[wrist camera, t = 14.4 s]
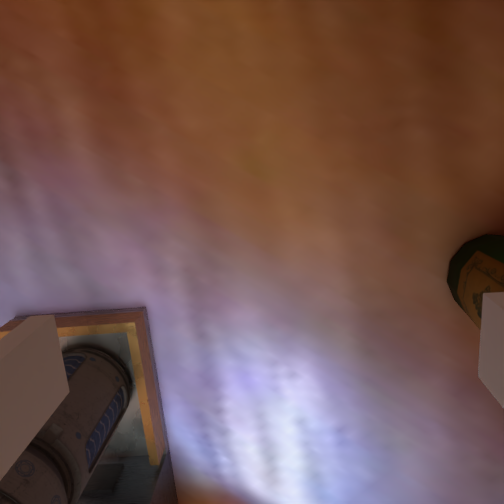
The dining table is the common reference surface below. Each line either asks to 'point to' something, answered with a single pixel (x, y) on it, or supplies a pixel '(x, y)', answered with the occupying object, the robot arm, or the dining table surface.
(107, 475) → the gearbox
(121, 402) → the beverage bottle
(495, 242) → the bottle
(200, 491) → the dining table surface
